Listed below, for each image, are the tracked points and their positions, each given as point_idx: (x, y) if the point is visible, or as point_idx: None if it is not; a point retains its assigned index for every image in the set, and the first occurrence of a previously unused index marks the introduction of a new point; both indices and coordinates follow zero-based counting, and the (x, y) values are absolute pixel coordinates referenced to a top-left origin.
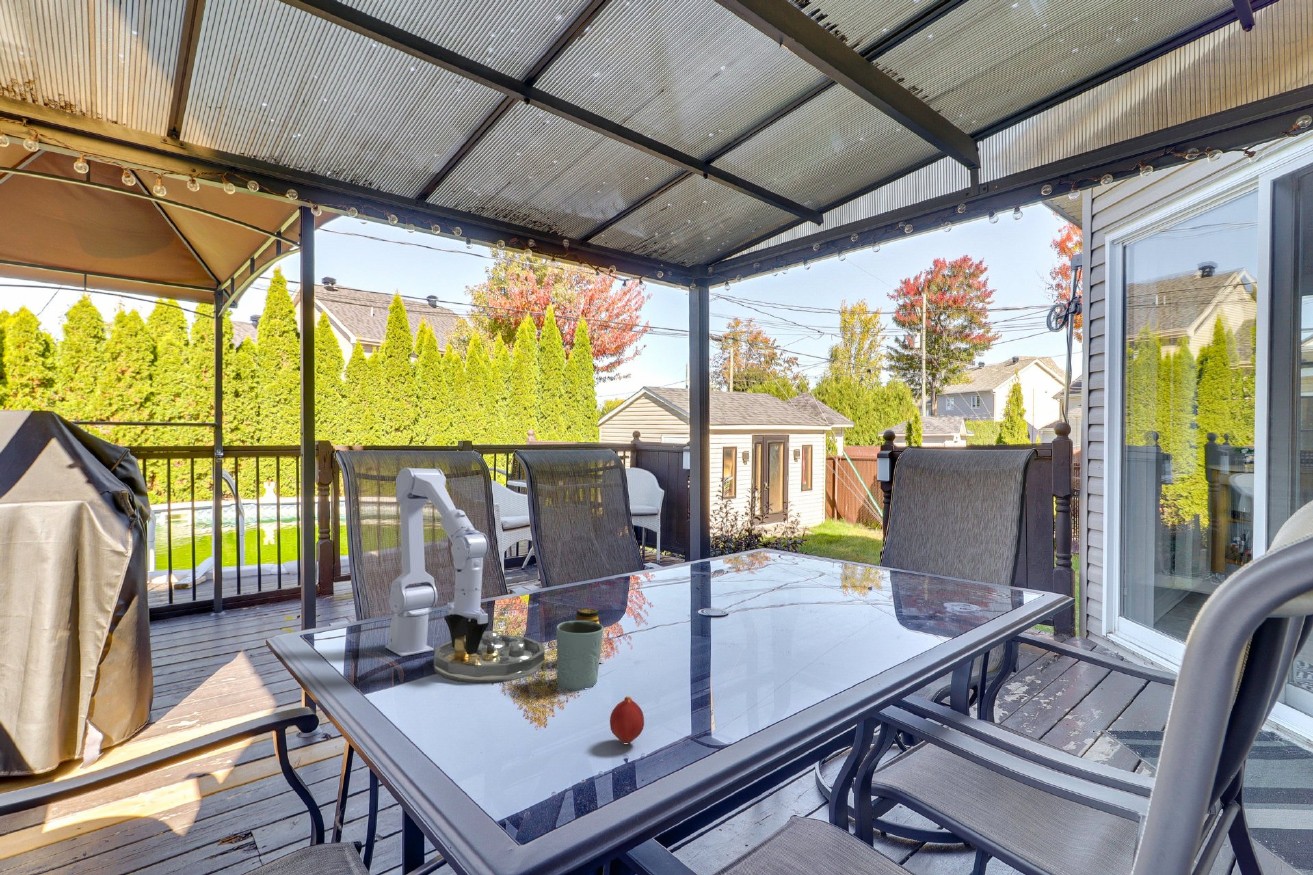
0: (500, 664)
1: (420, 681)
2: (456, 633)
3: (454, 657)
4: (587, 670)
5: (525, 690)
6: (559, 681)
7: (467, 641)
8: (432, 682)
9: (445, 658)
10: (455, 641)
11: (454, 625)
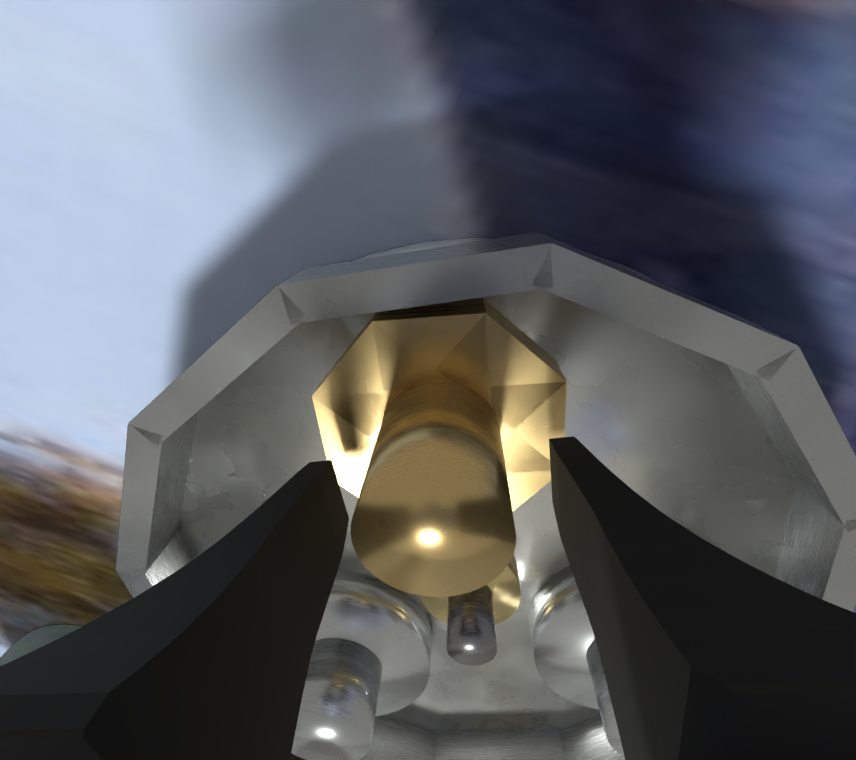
0: (136, 549)
1: (362, 60)
2: (592, 548)
3: (442, 383)
4: None
5: (39, 518)
6: (46, 642)
7: (241, 529)
8: (303, 144)
9: (408, 304)
10: (432, 460)
11: (624, 618)
